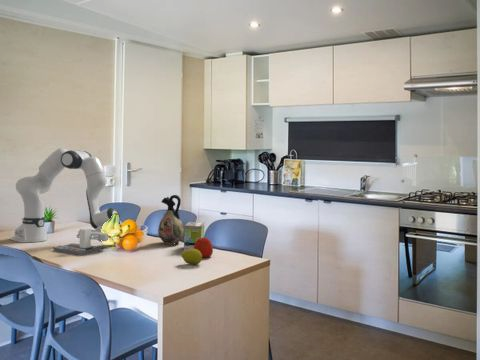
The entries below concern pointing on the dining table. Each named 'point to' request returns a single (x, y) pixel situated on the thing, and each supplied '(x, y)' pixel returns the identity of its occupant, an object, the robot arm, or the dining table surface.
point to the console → (76, 249)
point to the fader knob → (85, 238)
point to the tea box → (192, 234)
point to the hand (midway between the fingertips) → (83, 237)
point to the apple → (204, 247)
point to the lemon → (192, 256)
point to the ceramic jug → (171, 222)
